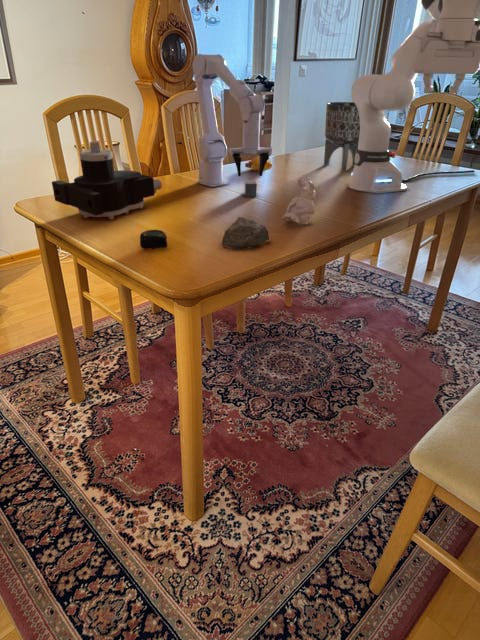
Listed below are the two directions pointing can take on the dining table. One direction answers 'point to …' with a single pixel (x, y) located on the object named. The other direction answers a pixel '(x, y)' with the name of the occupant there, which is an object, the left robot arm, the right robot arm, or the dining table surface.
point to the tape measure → (153, 239)
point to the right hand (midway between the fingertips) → (440, 93)
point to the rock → (245, 234)
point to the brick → (250, 188)
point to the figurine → (301, 204)
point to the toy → (258, 164)
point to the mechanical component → (104, 186)
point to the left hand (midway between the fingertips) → (249, 175)
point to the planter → (341, 131)
